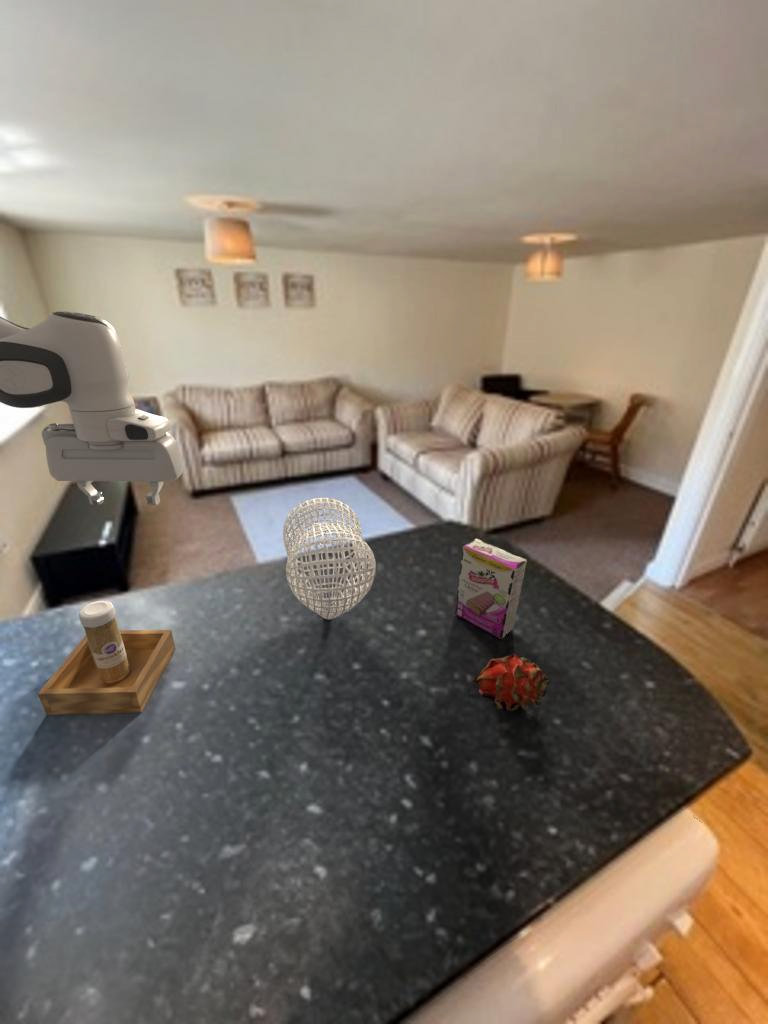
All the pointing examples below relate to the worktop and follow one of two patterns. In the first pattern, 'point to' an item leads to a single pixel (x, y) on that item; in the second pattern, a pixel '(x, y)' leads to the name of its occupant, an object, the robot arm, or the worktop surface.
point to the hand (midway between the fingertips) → (126, 503)
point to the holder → (86, 694)
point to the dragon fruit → (512, 682)
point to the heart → (357, 546)
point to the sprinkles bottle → (105, 641)
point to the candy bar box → (489, 587)
